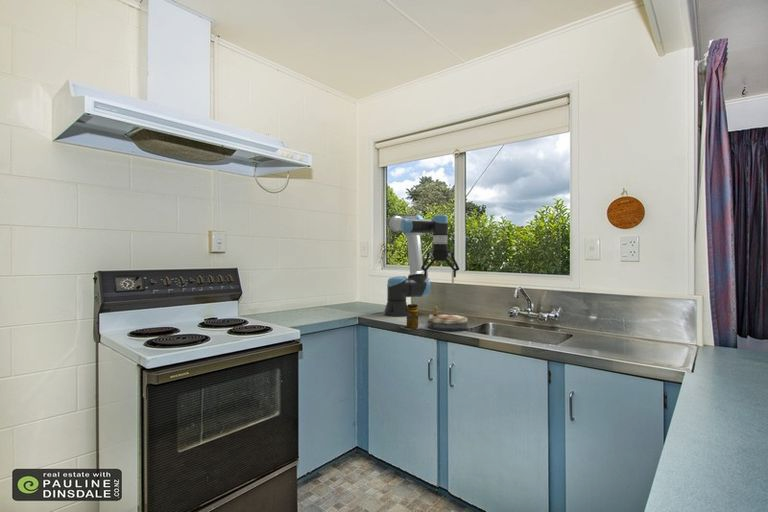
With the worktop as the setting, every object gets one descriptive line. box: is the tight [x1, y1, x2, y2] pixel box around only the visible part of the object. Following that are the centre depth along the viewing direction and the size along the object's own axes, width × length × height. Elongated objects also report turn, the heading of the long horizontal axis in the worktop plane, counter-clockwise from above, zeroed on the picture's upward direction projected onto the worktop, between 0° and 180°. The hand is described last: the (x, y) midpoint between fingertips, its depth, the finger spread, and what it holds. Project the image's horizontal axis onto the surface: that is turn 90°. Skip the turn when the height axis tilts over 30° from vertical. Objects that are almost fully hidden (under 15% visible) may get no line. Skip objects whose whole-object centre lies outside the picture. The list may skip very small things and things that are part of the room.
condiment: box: [400, 303, 421, 331], centre depth 203 cm, size 7×8×12 cm
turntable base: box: [427, 314, 469, 332], centre depth 205 cm, size 21×21×5 cm
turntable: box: [428, 305, 469, 324], centre depth 205 cm, size 20×20×6 cm
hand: (439, 283), depth 211 cm, fingers open, 13 cm apart
